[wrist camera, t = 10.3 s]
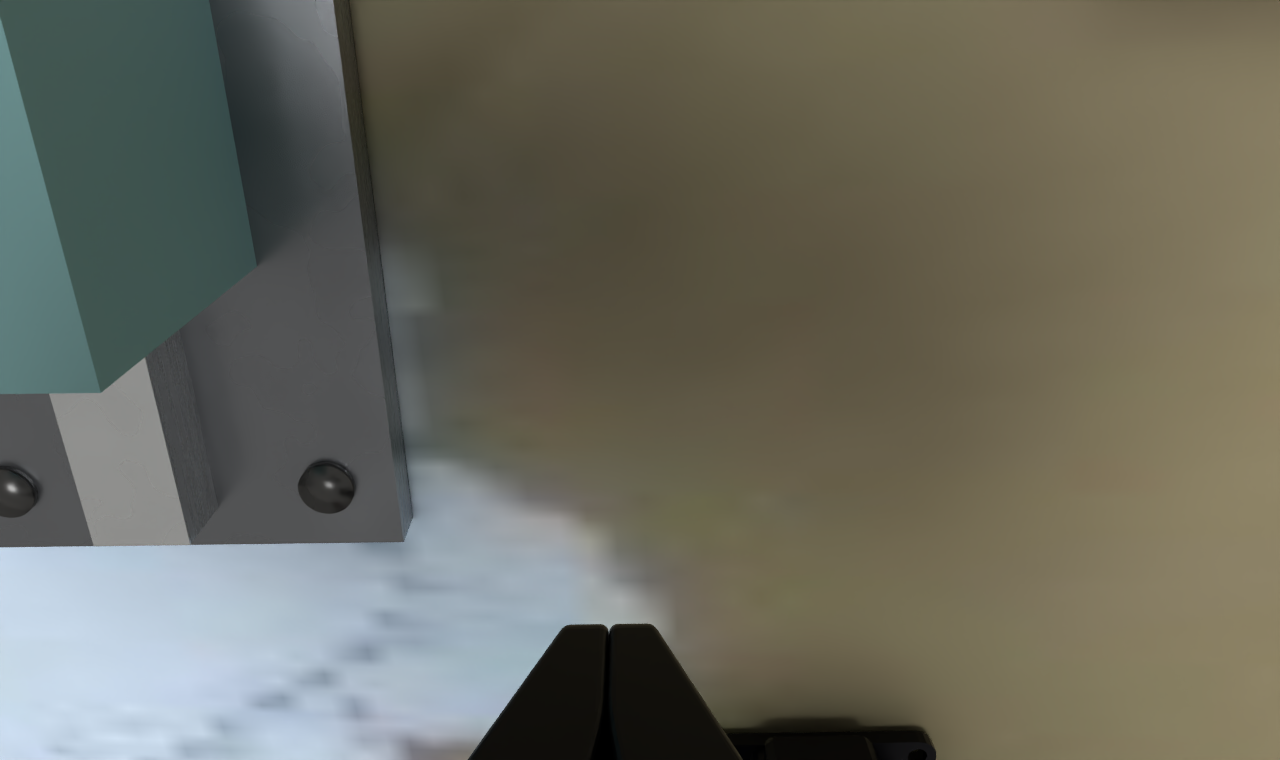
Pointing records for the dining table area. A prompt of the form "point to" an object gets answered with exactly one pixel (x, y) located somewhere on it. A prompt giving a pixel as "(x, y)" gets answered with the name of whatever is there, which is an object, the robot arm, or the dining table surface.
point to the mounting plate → (246, 344)
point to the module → (111, 186)
